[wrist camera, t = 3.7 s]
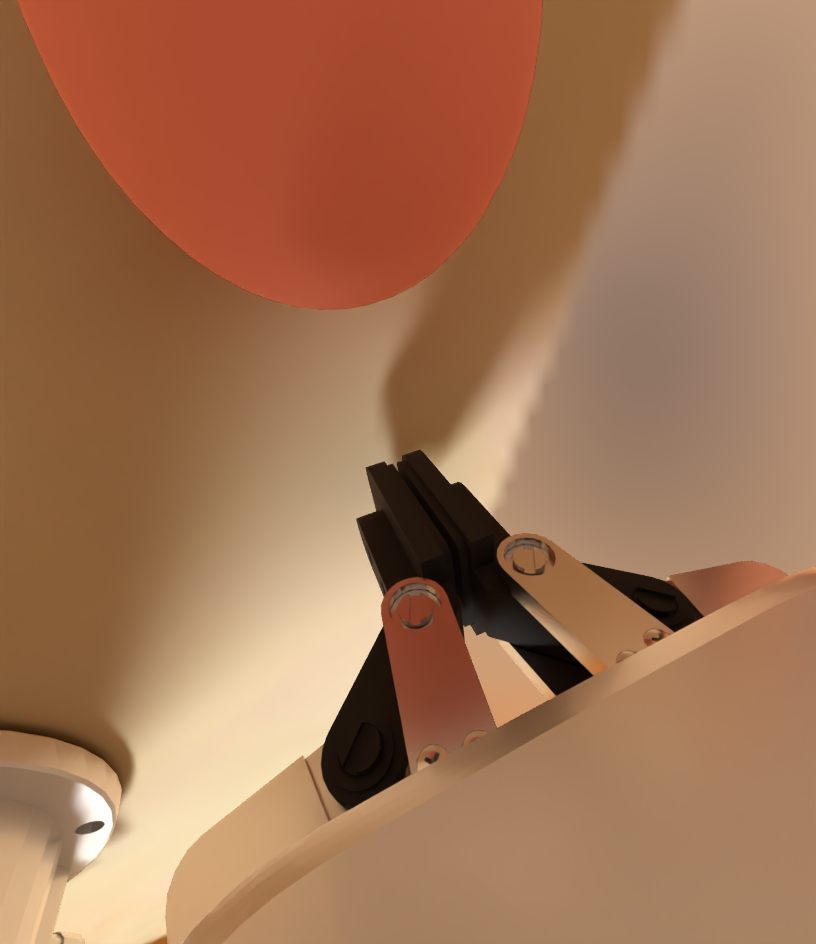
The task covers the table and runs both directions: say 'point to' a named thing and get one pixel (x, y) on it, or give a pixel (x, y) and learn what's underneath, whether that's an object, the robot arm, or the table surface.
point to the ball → (300, 128)
